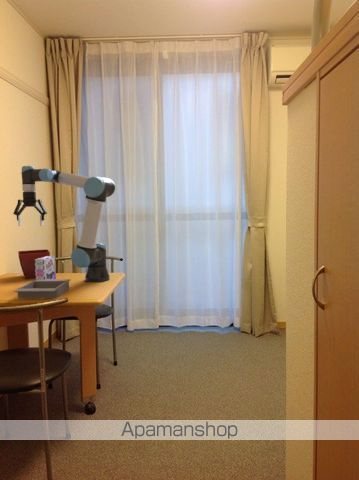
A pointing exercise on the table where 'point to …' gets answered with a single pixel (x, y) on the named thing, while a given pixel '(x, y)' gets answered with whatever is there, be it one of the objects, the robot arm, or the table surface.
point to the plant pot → (30, 261)
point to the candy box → (45, 268)
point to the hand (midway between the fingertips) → (31, 225)
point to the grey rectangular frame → (44, 288)
